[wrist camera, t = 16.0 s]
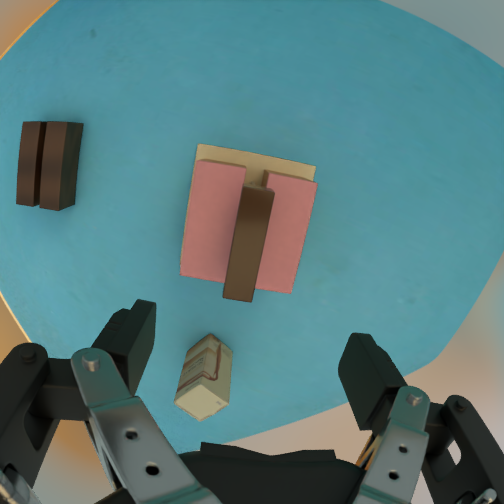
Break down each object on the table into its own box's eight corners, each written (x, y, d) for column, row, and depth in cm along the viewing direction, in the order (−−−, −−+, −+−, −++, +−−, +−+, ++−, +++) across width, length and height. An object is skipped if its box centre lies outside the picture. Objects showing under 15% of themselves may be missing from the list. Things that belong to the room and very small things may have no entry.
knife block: (40, 122, 30) (22, 121, 26) (84, 123, 31) (67, 121, 27) (33, 198, 33) (16, 204, 29) (74, 204, 34) (58, 211, 30)
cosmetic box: (210, 331, 40) (202, 382, 30) (233, 351, 41) (232, 403, 31) (183, 352, 40) (171, 403, 31) (207, 370, 42) (200, 423, 32)
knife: (242, 174, 33) (242, 186, 22) (264, 179, 33) (275, 192, 22) (227, 253, 36) (222, 298, 25) (248, 257, 36) (251, 303, 25)
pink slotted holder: (198, 143, 32) (188, 141, 26) (315, 166, 33) (332, 170, 27) (180, 263, 36) (168, 287, 30) (287, 281, 38) (296, 308, 31)
